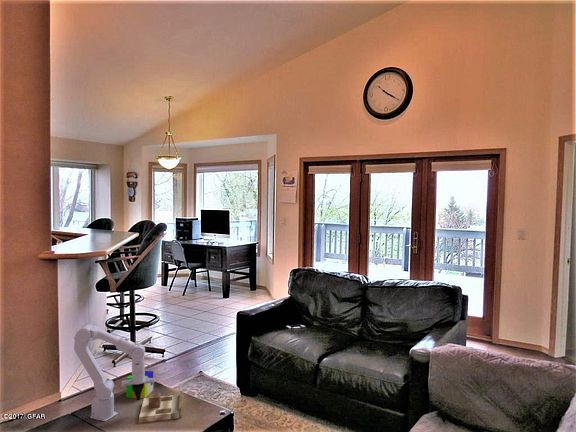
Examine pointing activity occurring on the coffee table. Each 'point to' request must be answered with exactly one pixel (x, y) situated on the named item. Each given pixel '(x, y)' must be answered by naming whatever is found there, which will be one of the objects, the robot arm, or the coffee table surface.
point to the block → (154, 400)
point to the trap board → (162, 409)
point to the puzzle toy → (146, 389)
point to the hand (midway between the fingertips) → (138, 399)
